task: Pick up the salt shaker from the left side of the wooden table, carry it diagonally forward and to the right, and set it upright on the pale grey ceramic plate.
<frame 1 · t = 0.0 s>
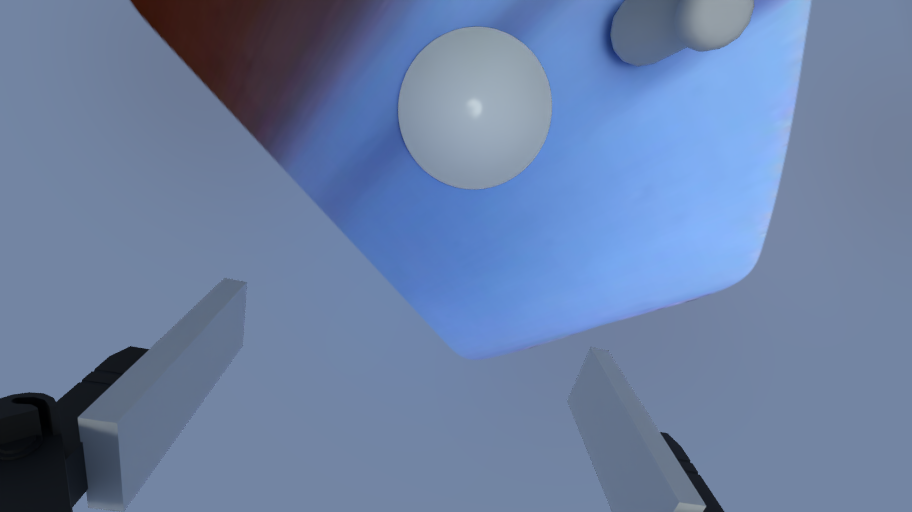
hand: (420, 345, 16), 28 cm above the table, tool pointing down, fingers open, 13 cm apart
salt shaker: (632, 31, 38), on the table
ceramic plate: (474, 112, 40), on the table
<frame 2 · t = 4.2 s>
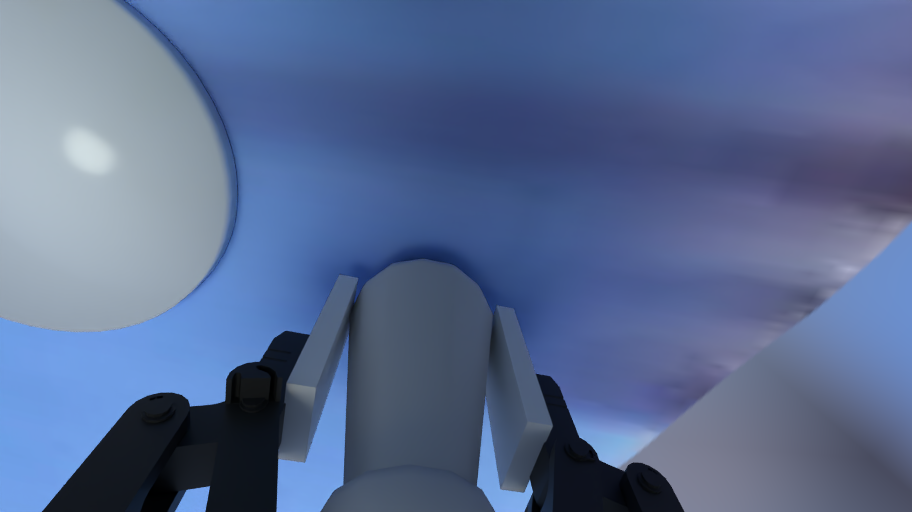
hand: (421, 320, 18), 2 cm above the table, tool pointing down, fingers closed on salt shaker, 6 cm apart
salt shaker: (423, 296, 20), on the table, touching gripper
ceramic plate: (50, 161, 16), on the table
when the fingers open (4 cm above the table, at t = 9.3 s): salt shaker drops 1 cm, resting on ceramic plate.
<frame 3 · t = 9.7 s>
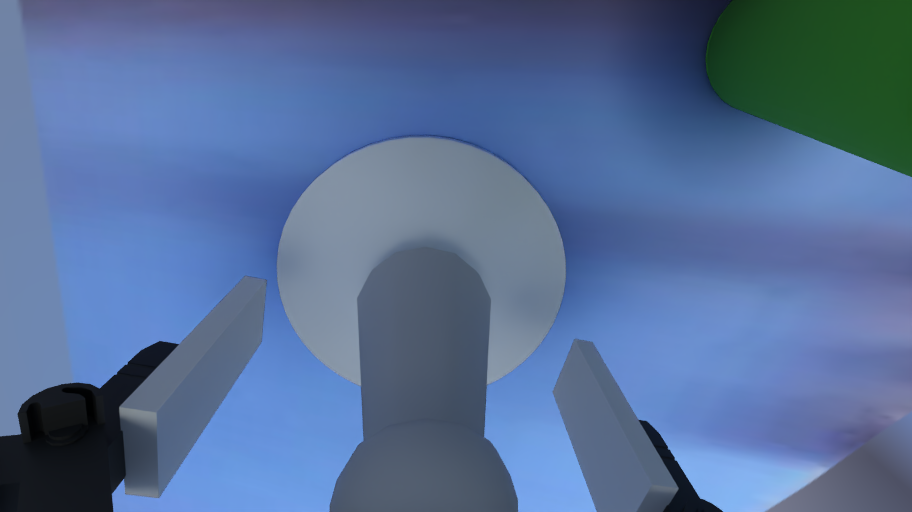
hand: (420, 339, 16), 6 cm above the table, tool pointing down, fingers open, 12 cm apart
salt shaker: (424, 284, 21), point 1 cm above the table, touching ceramic plate
ceramic plate: (424, 275, 22), on the table
cup: (758, 46, 18), on the table
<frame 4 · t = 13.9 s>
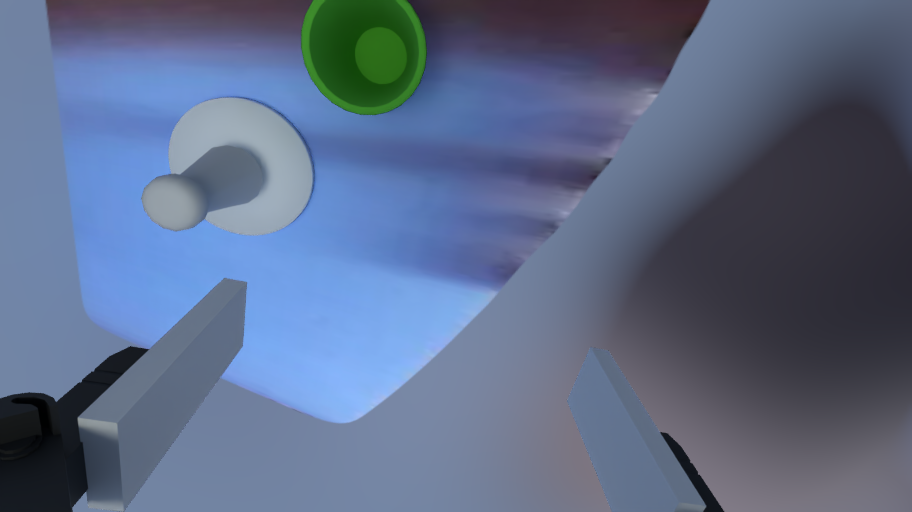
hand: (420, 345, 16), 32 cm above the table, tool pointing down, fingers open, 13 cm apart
salt shaker: (242, 170, 43), point 1 cm above the table, touching ceramic plate
ceramic plate: (246, 168, 44), on the table
cup: (382, 56, 41), on the table
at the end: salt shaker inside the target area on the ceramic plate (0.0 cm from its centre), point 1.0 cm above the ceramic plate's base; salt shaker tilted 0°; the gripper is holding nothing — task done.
